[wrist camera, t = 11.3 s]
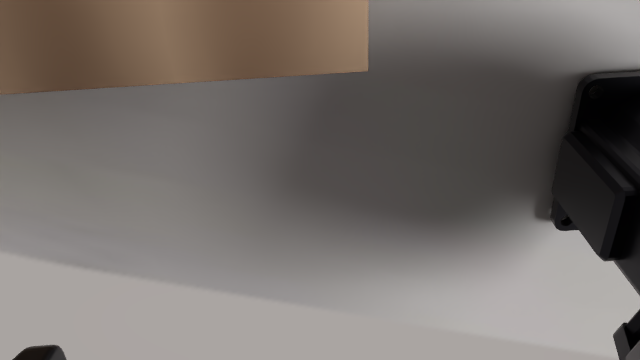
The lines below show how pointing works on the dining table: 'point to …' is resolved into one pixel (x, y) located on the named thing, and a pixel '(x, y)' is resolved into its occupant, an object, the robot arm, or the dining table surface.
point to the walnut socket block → (175, 41)
